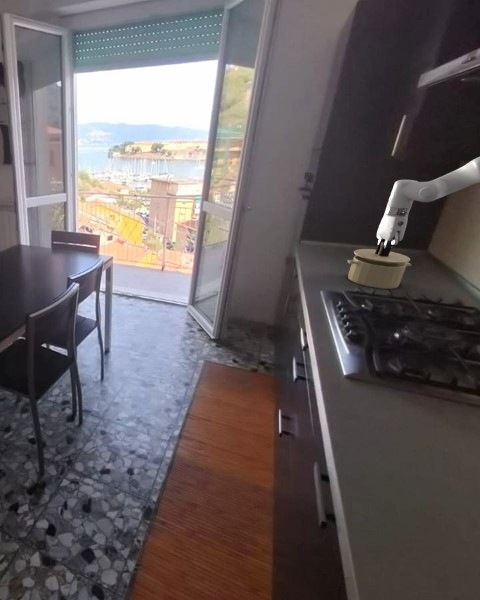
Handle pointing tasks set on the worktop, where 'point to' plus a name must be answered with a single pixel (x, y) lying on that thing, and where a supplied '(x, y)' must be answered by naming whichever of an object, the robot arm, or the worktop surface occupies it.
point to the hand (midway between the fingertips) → (381, 254)
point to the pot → (376, 273)
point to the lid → (372, 256)
